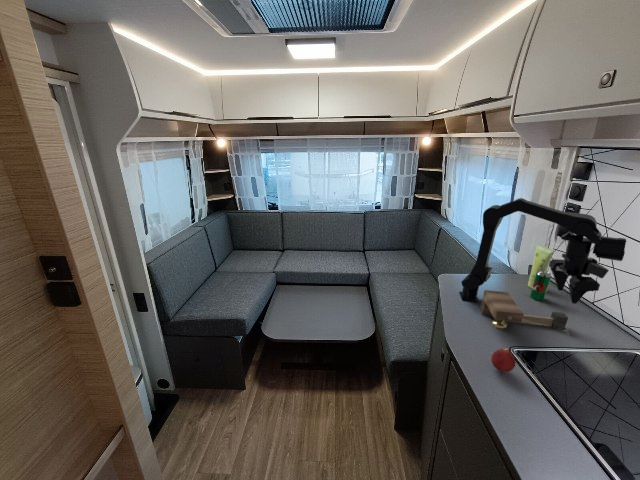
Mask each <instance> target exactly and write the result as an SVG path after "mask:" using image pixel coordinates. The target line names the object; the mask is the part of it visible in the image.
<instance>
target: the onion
mask: <svg viewBox="0 0 640 480" xmlns="http://www.w3.org/2000/svg"><path fill="white" fill-rule="evenodd" d="M490 362H491V363H492V365H493V367H494V368H495V369H496V370H498V371H499V372H501V373H502V372H505V373H507V372H511V371H513V370H514V368H515V367H516V359H515V357H514V355H513V354H512V353H511V352H510V349H509V348H500V349H497V350H495V351H494V352H493V353H492V354H491V361H490Z"/></svg>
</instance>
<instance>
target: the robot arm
mask: <svg viewBox="0 0 640 480" xmlns="http://www.w3.org/2000/svg"><path fill="white" fill-rule="evenodd" d="M517 212H520V213H523V214H527V215H529V216H532V217H536V218H539V219H542V220H545V221H548V222H551V223H554V224H556V225H559V226H560V227H562V228H563V229H565V230H567V231H568V232H567V233H564V234H562V235H561V240H566V241H568V242H567V245H566V250H565V253H561V257H562V258H563V259H560V258H559V259H556V258H555V259H554V258H553V259H550V262H549V265H548V267H549V269H550V271H551V275H552V276H553V279H554V281H555V285H556V288H557V290H558V291H563V290H564V288H565V286H566V285H565V284H566V282H567V280H568V277H569V276H570V278H569V284H568V285H567V286H568V291H569V292H568V293H569V296H570V302H571V304H573V305H576V304H577V303H578V302H579V301H580V300H581V299H582V297H583V296H584V295H586V293H588V292H598V291H599V290H600V285H601V284H600V283H599V281H597V280H596V279H594V278H593V277H591V276H590V275H593V276H596V277H598V278H599V279H604V278H605V276H606V275H607V274H608V273H609V270H610V269H608V268H607V267H605V266H604V265H601V264H599V263H598V259H606V260H612V261H617V262H622V261H623V260H624V257H625V256H624V255H625V252H626V250H625V249H626V244H627V239H626V238H624V237H623V238H622V237H610V236H604V235H603V236H602V233H601V231H600V230H599V229H598V227H597V223H598V222H597V219H596V218H595V217H594V216H592V215H591V214H585V213H579V212H569V211H563V210H560V209H556V208H552V207H550V206H546V205H543V204H539V203H536V202H533V201H529V200H527V199H525V198H523V197H522V198H521V197H520V198H516V199H514V200H512V201H509V202H507V203H504V204H501V205H500V204H499V205H498V204H495V205H492V206H490V207H488V208H487V209H485V210H484V211H483V213H482V226H483V227H482V228H483V232H482V236H481V239H480V244H479V249H478V253H477V256H476V261H475V263H474V265H473V267H472V269H471V271H470V273H468V274H467V275H466V276H465V277H464V278H463V280H461V285H462V290H461V291H458V294H459V296H460V298H461V300H462V301H466V302H474V303H479V302H480V300H479V298H478V294H479V293H478V292H479V289H480V288H479V287H480V286H483V284H484V283H486V282H487V281H488V280H490V278H491V272H492V270H493V267H490V266H489V260H490V257H491V254H492V249H493V246H494V242H495V238H496V237H495V236H496V233H497V231H498V228H499V226H500V224H501V223H502V221H503V219H504V217H507V216H509V215H511V214H515V213H517ZM592 244H593V249H591V248H592ZM591 250H592V254H594V256H596V258H598V259H597V260H596V259H595V258H594V257H589V256H590V252H591Z"/></svg>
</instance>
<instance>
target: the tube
mask: <svg viewBox="0 0 640 480" xmlns="http://www.w3.org/2000/svg"><path fill="white" fill-rule="evenodd" d="M554 251H555V250H554V249H551V248H549V247H547V246H543V245H541V244H539V243H537V244H536V248H535V254H534V259H533V263H532V267H531V269H530V275H529V280H528V283H527V287H529V288H531V289H532V285H533V282H534V279H535V275H536V273H537V272H538V270H545V271H548V267H549V263H550V261H551V260H552V256H553V254H554Z"/></svg>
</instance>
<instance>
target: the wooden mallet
mask: <svg viewBox="0 0 640 480" xmlns="http://www.w3.org/2000/svg"><path fill="white" fill-rule="evenodd" d="M568 319H569V317H568V316H567V314H566V313H565V312H559V311H552V312H551V314H550V317H549V316H548V317H547V316H539V315H531V314H524V315H523V318H522V321H521V323H520V324H527V323H528V324H529V325H535V324H536V326H543V325H544V327H545V326H546V327H551V328H552V329H555V330H557V329H558V330H559V329H561V330H562V329H564V330H565V326H567V322H568ZM528 324H527V325H528Z"/></svg>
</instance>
